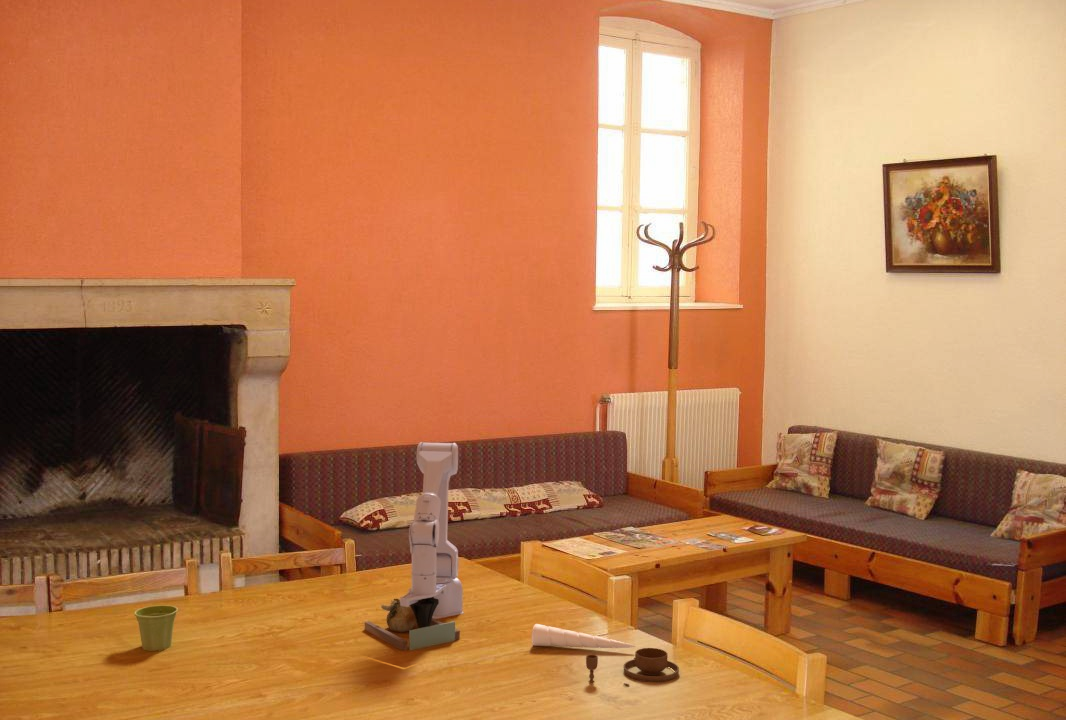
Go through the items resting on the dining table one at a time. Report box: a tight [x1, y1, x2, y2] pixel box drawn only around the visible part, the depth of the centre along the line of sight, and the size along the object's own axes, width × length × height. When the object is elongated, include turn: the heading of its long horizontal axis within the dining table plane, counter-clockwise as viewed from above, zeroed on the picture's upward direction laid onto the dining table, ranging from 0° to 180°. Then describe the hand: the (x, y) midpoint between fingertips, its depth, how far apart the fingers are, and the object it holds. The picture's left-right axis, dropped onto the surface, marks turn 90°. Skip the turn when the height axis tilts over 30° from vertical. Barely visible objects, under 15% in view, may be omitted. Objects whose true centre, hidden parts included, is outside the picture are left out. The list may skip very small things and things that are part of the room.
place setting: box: [585, 647, 680, 688], centre depth 236 cm, size 18×20×6 cm
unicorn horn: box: [531, 623, 636, 649], centre depth 250 cm, size 5×24×5 cm
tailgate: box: [408, 620, 456, 651], centre depth 251 cm, size 1×12×5 cm, turn 125°
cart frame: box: [364, 618, 461, 652], centre depth 259 cm, size 15×18×2 cm
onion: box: [381, 598, 417, 633], centre depth 263 cm, size 8×8×8 cm
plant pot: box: [133, 604, 179, 652], centre depth 249 cm, size 9×9×9 cm
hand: (423, 630), depth 254 cm, fingers closed
